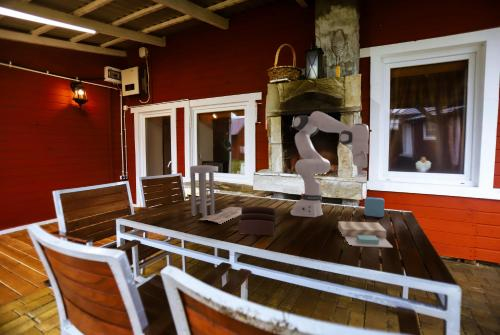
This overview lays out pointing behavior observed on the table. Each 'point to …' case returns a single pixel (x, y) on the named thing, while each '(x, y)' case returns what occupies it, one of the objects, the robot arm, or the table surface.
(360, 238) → the teal flat block
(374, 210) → the data package
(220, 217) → the grey flat ribbed slab
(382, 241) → the mat
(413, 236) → the table surface
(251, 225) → the letter holder
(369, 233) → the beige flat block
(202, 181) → the stool
